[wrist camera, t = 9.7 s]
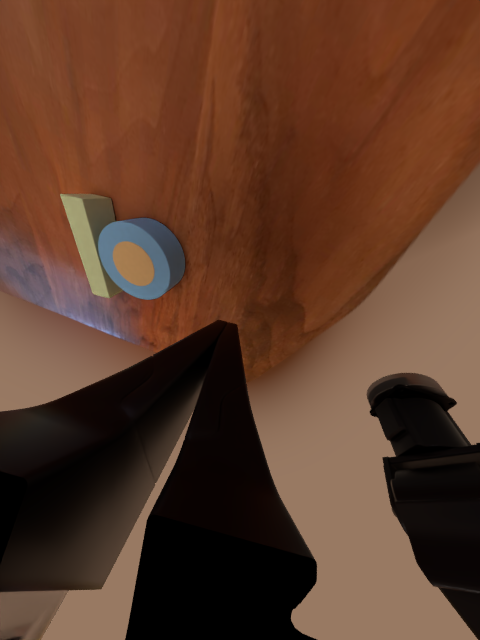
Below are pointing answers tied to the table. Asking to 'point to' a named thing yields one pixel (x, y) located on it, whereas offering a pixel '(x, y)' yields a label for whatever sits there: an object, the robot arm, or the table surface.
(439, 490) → the robot arm
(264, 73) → the table surface
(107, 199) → the stop block
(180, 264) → the tape roll
